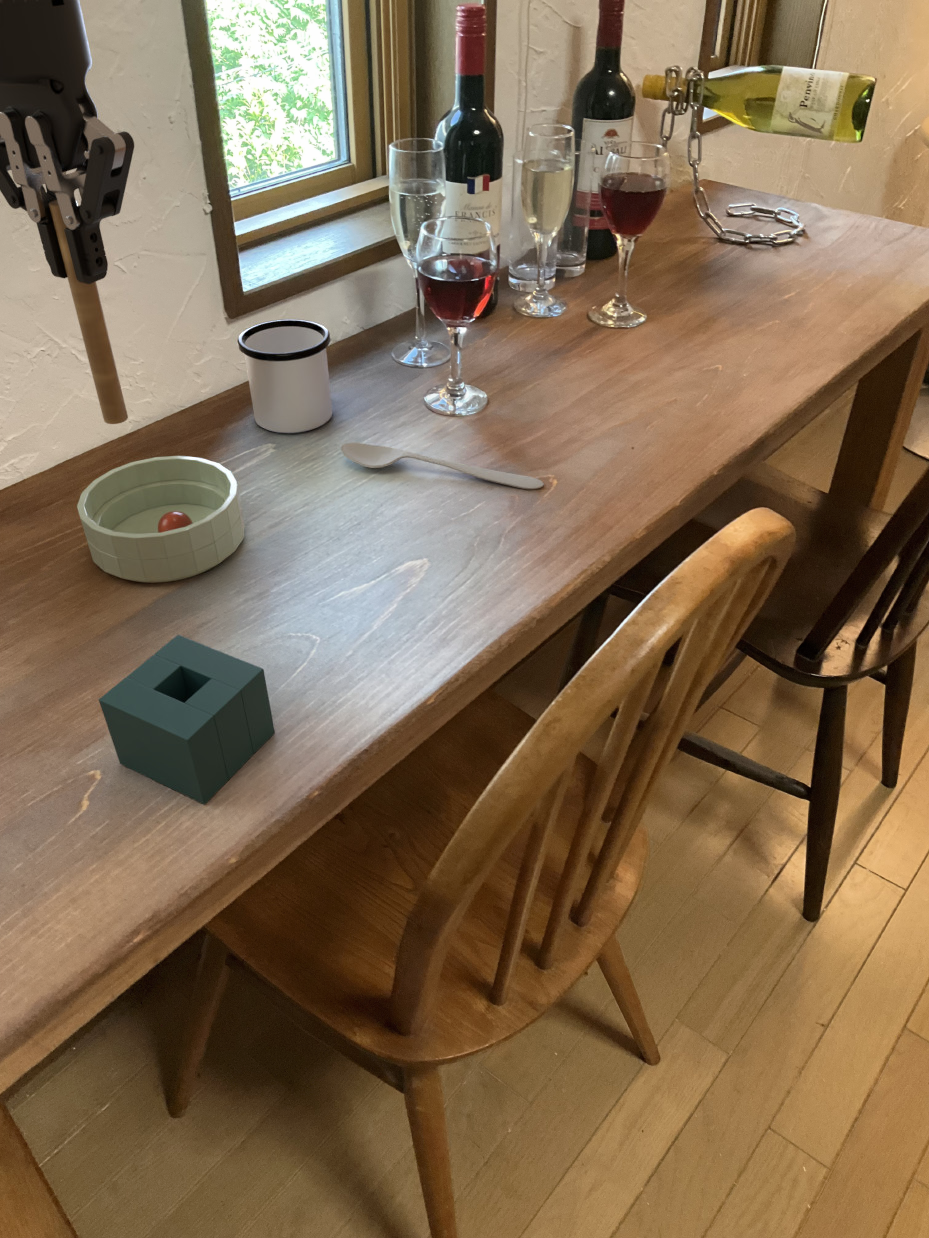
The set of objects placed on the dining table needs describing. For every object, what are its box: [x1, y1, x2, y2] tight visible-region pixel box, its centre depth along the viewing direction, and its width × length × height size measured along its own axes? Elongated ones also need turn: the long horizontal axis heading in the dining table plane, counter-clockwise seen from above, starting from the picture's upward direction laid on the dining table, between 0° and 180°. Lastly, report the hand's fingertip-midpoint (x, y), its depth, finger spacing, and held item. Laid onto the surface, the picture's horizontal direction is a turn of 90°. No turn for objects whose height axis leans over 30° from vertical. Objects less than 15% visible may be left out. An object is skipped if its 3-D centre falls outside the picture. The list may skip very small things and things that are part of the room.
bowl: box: [76, 455, 246, 583], centre depth 84 cm, size 13×13×5 cm
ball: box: [158, 511, 193, 533], centre depth 83 cm, size 3×3×3 cm
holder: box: [98, 634, 276, 805], centre depth 64 cm, size 7×7×6 cm
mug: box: [236, 318, 333, 434], centre depth 102 cm, size 12×10×9 cm
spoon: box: [340, 442, 544, 490], centre depth 94 cm, size 4×21×2 cm, turn 75°
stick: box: [49, 200, 129, 425], centre depth 70 cm, size 2×2×16 cm
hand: (80, 276), depth 68 cm, fingers closed on stick, 2 cm apart
